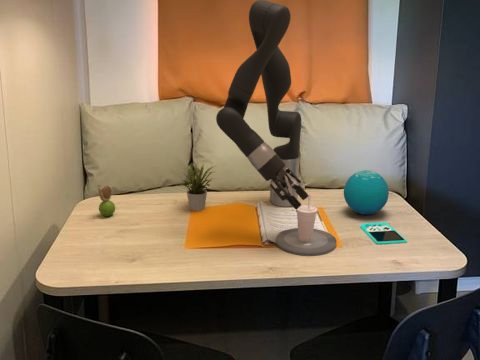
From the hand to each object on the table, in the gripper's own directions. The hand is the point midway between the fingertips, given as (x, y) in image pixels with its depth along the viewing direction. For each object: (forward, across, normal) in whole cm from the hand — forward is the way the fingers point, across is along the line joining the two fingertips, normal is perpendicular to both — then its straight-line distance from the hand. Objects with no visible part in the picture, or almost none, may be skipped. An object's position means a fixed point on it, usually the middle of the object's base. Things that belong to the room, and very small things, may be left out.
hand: (302, 202), depth 163 cm
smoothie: (+9, 0, +7) cm, 12 cm away
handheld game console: (+25, +15, -6) cm, 30 cm away
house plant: (-19, +16, +38) cm, 45 cm away
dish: (+10, 0, +8) cm, 13 cm away
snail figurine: (-38, -2, +56) cm, 68 cm away
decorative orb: (+19, +32, -1) cm, 37 cm away
